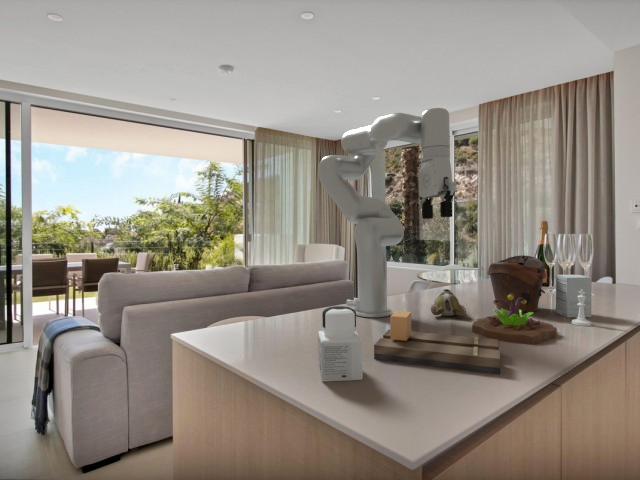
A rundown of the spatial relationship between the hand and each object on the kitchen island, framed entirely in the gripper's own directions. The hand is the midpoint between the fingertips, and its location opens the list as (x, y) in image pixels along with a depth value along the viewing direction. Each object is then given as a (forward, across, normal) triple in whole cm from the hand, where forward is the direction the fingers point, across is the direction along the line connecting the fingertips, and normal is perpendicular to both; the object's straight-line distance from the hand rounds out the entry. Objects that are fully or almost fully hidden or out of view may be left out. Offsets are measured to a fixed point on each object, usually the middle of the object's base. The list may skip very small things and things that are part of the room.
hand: (436, 217), depth 109 cm
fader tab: (+30, +15, -18) cm, 38 cm away
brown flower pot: (+31, -17, +40) cm, 53 cm away
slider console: (+31, +19, -12) cm, 39 cm away
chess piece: (+32, +5, +43) cm, 54 cm away
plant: (+32, +8, +18) cm, 37 cm away
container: (+31, +24, -36) cm, 53 cm away
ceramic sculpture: (+31, -16, +13) cm, 37 cm away
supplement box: (+32, -4, +50) cm, 59 cm away
